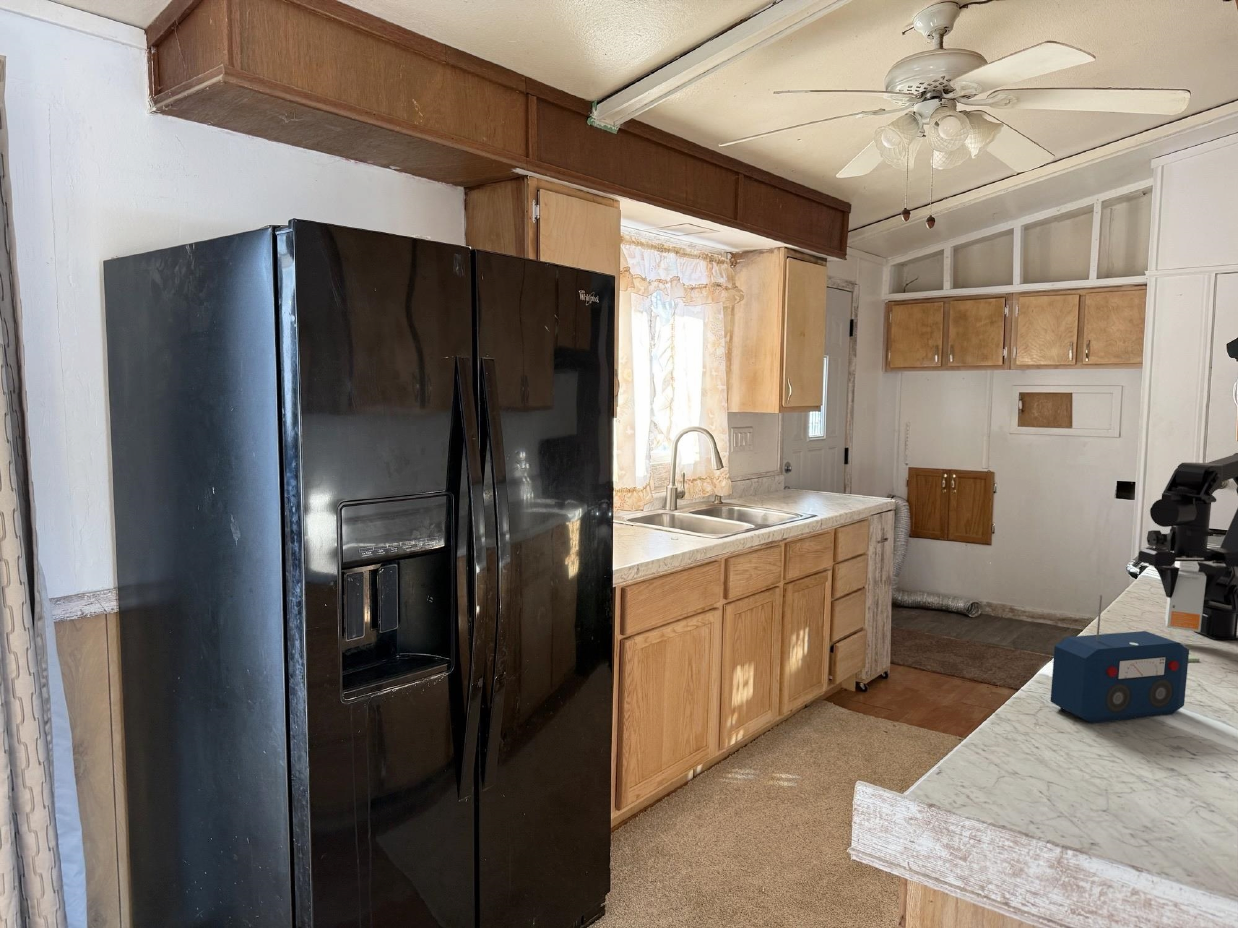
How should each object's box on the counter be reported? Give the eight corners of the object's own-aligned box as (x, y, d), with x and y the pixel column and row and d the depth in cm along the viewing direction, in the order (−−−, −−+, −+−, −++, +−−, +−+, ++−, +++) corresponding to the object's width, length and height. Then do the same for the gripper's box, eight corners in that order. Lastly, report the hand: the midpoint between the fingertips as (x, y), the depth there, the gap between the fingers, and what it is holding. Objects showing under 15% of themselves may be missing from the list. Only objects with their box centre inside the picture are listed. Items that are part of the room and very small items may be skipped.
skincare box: (1166, 628, 178) (1171, 572, 177) (1164, 623, 182) (1169, 568, 181) (1201, 632, 176) (1207, 575, 174) (1198, 627, 179) (1204, 571, 178)
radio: (1087, 728, 134) (1097, 604, 132) (1045, 707, 143) (1054, 590, 141) (1191, 716, 140) (1202, 597, 138) (1145, 696, 148) (1155, 584, 146)
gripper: (1205, 517, 185) (1199, 587, 187) (1124, 516, 184) (1117, 587, 186) (1246, 527, 174) (1239, 601, 176) (1160, 526, 173) (1153, 601, 174)
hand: (1185, 597), depth 178 cm, fingers closed on skincare box, 7 cm apart
